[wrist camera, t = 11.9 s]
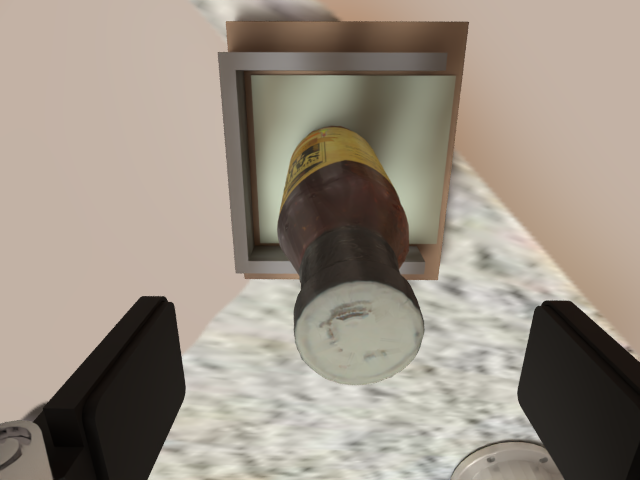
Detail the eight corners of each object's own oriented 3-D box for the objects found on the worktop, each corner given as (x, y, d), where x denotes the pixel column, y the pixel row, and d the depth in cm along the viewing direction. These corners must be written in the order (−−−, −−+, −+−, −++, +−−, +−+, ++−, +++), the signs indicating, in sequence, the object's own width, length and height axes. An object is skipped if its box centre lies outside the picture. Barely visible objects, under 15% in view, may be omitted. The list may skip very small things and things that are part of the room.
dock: (457, 25, 29) (485, 15, 24) (430, 266, 37) (448, 298, 31) (233, 25, 30) (214, 15, 24) (249, 266, 37) (237, 296, 31)
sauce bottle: (300, 113, 29) (283, 197, 11) (385, 135, 30) (504, 250, 11) (280, 200, 31) (238, 389, 13) (359, 219, 32) (423, 423, 14)
